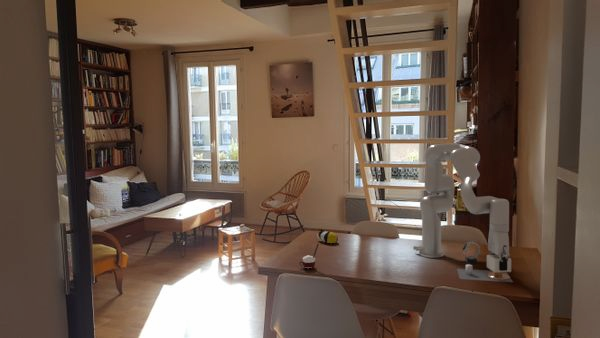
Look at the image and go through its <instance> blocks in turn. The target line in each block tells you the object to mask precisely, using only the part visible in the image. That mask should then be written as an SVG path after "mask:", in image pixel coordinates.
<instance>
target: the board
mask: <svg viewBox="0 0 600 338" xmlns="http://www.w3.org/2000/svg"><path fill="white" fill-rule="evenodd" d="M456 271H457V275H458V277H459V280H471V281H487V282H502V283H514V281H513V280H512V278H511V277H510V278H509V279H505V280H500V279H494V278H490V277H488V276H487V274H488V273H491V272H493V271H492V270H486V269H482V270H481V269H473V265H472V264H470V263H467V264H465V268H456ZM502 273H504V274H507V275H509V272H502Z"/></svg>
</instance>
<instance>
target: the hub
mask: <svg viewBox="0 0 600 338" xmlns="http://www.w3.org/2000/svg"><path fill="white" fill-rule="evenodd" d="M487 276H488V277H490V278H494V279H500V280H505V279H509V278H511V277H510V275H509V274H508V275H507V274H504V273H502V272H491V273H488V274H487Z"/></svg>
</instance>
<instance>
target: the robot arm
mask: <svg viewBox="0 0 600 338" xmlns="http://www.w3.org/2000/svg"><path fill="white" fill-rule="evenodd" d="M424 154H425V155H424V160H425V172H424V173H425V175H424V189H425V190H424V191H426V193H429V194H430V195H426V196H424V197H422V198H421V200H420V202H419V207H420V212H421V245H419V246H417V245H413V246H412V247H413V250H414V251H418V255H419V256H421V257H424V258H430V259H438V258H439V259H440V258H443V257H444V256H445V253H444V251H442V222H441V221H442V220H441V218H440V216H439V215H438V214H440V213H446V212H447V213H448V212H450V211H451V210H452V209H453V206H454V199H455V198H454V197H455V184H456V183H455V180H454V178H453V177H452V176H451V175H450V174H447V173H443V172H444V166H443V164H442V162H441V161H451V164H452V165H453V167H454V169H455V171H456V173H457V175H458V177H459V179H460V180H461V185H460V198H461V200H462V203H463V204H464V206H465V208H466V210H468V212H469V213H470V214H472V215H482V214H489V231H488V241H487V249H488V251H489V255H499V257H500V261H499V270H500V271H507V262H508V259H509V258H510V256H511V254H510V240H509V239H510V238H509V231H510V202H509V200H508V199H506V198H498V197H494V196H491V195H486V196H476V194H475V193H474V190H473V183H474V182H476V181H477V180H479V178H480V175H481V174H480V171H479V170H478V168H477V166H476V165H477V164H478V163H479V162H480V161H481V155H480V152H479V150H477V148H475V147H472V146H468V145H465V144H461V143H456V142H451V143H449V142H448V143H445V142H444V143H435V144H431V145H429V146H428V147H427V149H426V151H425V153H424ZM431 194H433V195H431ZM502 256H505V257H503V258H502Z"/></svg>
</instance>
